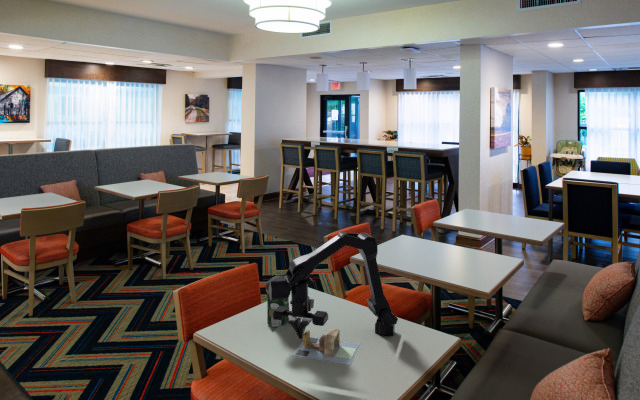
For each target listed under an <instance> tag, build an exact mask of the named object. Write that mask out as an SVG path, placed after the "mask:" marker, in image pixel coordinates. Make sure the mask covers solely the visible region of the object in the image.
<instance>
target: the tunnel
mask: <svg viewBox="0 0 640 400" xmlns="http://www.w3.org/2000/svg"><path fill="white" fill-rule="evenodd" d="M340 331H341V330H340V329H339V328H338V329H337V328H330V330H329V331H328V333H327V334H326V335H327V336H326V337H325V339H324V344H325V356H331V357H333V356H334V346H336V347H339V346H340V341H341V340H340V338H341V337H340V334H341V332H340Z"/></svg>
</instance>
